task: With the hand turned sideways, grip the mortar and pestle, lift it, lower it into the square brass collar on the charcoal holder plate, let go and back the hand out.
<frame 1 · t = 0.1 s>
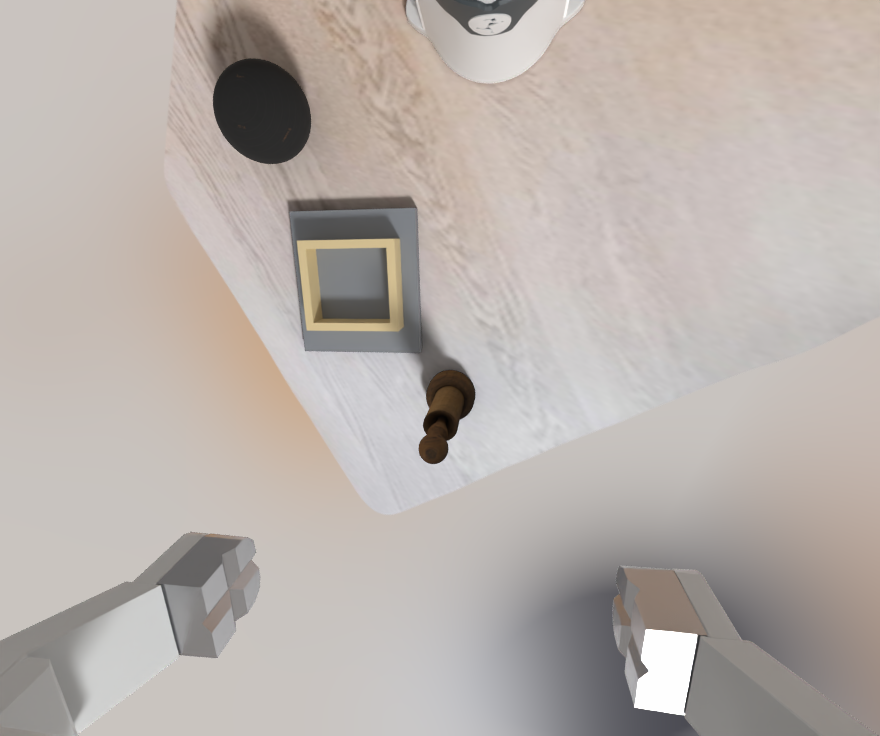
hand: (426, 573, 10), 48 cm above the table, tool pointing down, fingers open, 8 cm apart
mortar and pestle: (451, 392, 60), on the table
speaker: (286, 125, 53), on the table
holder: (359, 283, 57), on the table
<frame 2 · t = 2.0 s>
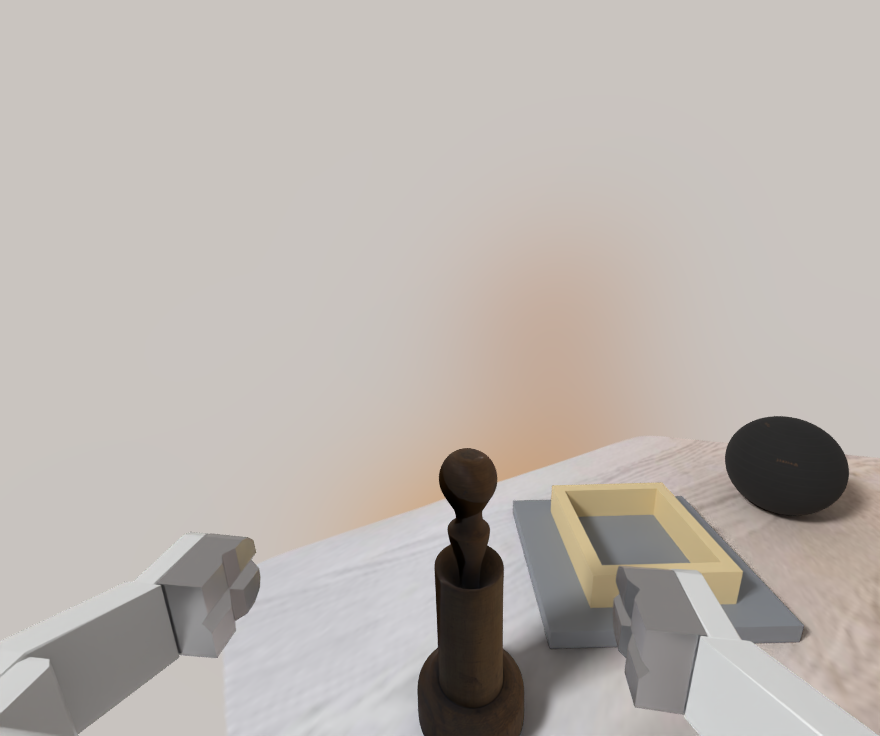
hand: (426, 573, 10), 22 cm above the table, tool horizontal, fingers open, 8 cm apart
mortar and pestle: (470, 711, 27), on the table
speaker: (772, 507, 46), on the table
holder: (627, 564, 39), on the table
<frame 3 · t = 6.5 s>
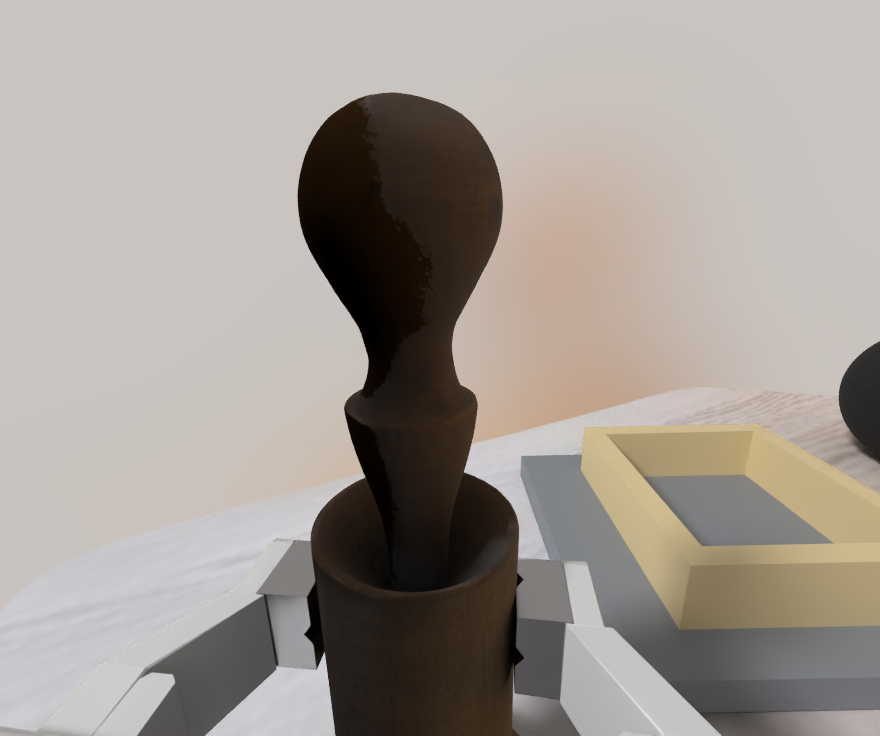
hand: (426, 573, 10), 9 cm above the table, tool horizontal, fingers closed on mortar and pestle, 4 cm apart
holder: (718, 551, 23), on the table
when the fingers open (12 cm above the table, at t = 10.5 s): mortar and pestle drops 1 cm, resting on holder.
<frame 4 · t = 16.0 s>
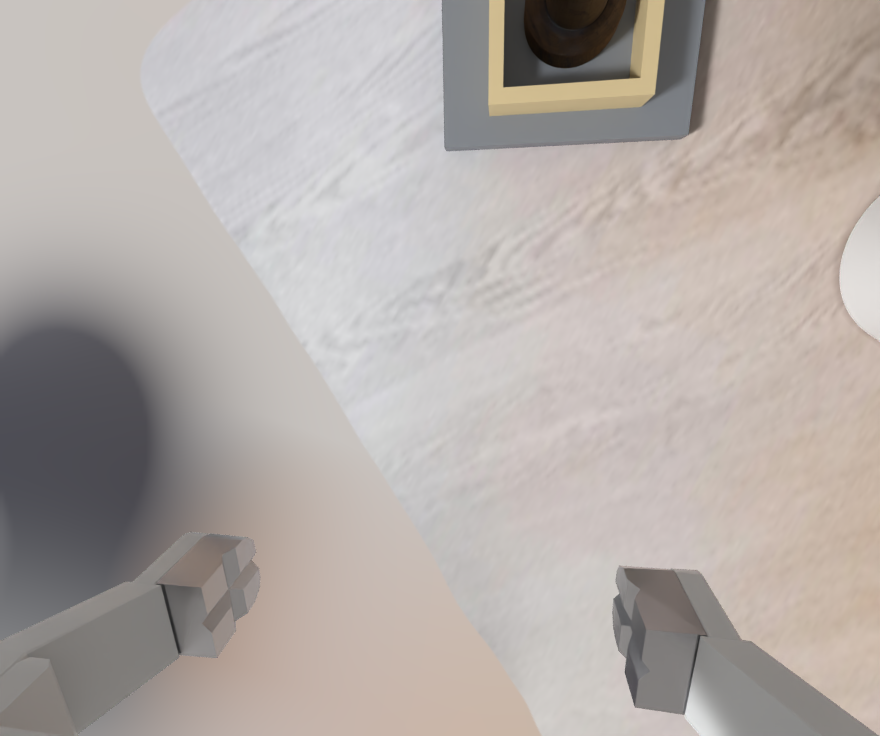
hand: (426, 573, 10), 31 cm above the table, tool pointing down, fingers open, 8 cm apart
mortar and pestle: (571, 17, 31), point 1 cm above the table, touching holder
holder: (565, 25, 32), on the table
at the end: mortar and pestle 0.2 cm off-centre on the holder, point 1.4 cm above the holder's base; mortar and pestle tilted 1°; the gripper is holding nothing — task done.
